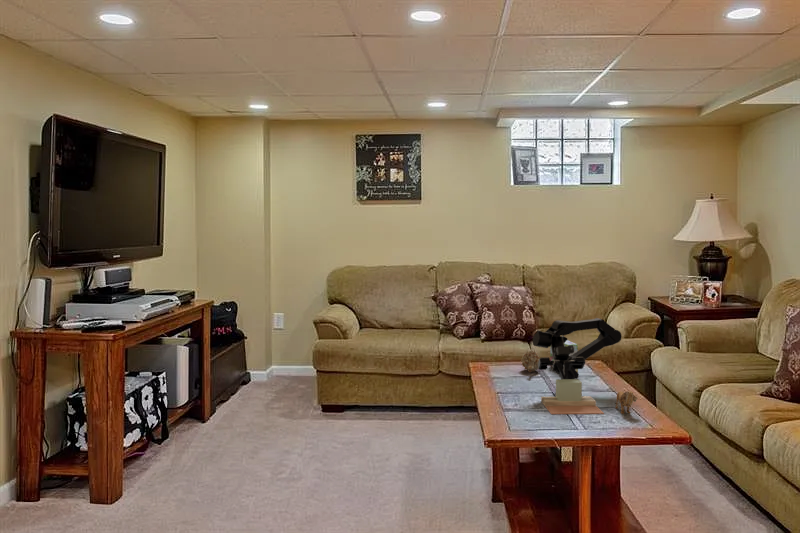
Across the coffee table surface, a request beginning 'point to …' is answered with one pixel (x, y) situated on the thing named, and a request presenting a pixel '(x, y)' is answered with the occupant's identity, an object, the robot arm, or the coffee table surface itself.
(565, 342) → the snack box
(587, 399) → the birch board
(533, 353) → the pine cone
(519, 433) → the coffee table surface
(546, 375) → the coffee table surface
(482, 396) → the coffee table surface
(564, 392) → the green block
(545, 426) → the coffee table surface
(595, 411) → the rubber mat
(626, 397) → the lion figurine
